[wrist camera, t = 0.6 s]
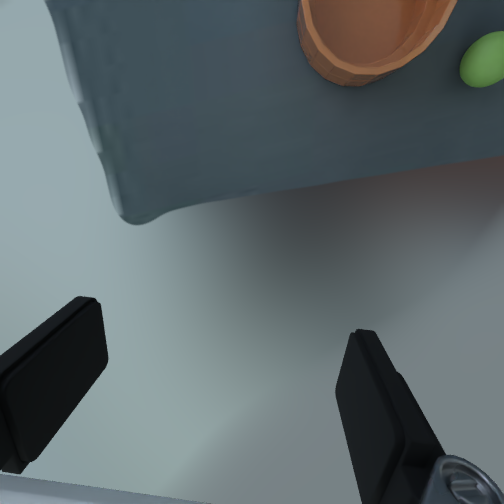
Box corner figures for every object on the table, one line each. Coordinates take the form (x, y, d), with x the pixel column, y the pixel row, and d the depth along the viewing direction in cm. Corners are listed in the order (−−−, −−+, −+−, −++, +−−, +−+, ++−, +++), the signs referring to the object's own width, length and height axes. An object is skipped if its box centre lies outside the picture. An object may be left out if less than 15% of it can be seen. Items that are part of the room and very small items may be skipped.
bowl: (302, -70, 26) (310, -128, 21) (443, -73, 26) (490, -134, 20) (291, 86, 31) (295, 73, 26) (409, 88, 30) (440, 75, 25)
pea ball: (457, 40, 29) (489, 22, 24) (502, 41, 28) (543, 22, 24) (444, 90, 30) (472, 81, 26) (487, 91, 30) (523, 82, 26)
